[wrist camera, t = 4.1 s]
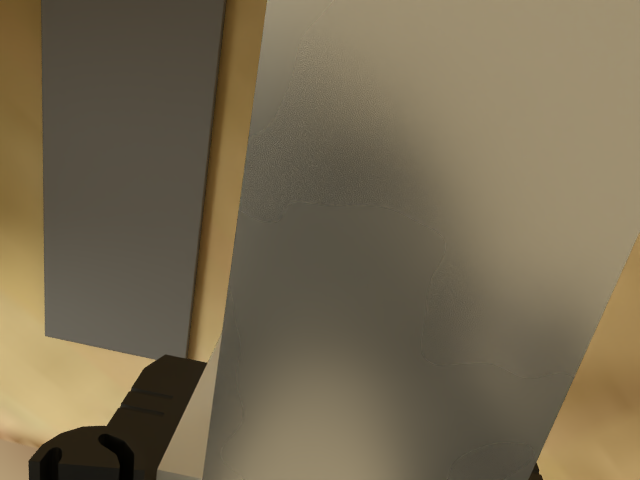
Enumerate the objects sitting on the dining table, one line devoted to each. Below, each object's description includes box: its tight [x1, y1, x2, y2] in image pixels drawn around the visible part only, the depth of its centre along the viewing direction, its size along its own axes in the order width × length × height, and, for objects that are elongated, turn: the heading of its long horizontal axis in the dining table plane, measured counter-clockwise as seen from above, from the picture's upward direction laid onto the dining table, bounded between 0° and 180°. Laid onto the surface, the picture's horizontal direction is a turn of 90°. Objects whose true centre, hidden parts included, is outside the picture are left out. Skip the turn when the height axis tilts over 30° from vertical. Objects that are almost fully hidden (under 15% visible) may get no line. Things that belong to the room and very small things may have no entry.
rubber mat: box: [41, 0, 226, 360], centre depth 31 cm, size 10×34×1 cm, turn 169°
